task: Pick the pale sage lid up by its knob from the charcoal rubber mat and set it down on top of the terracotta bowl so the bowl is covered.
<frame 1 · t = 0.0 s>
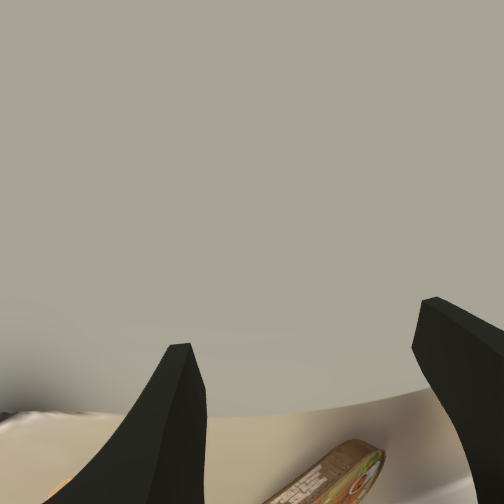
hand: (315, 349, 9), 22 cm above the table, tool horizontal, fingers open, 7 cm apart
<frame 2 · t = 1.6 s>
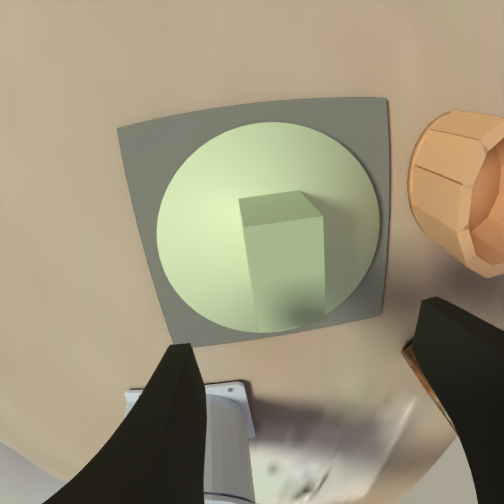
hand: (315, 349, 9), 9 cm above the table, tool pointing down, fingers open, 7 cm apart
lid: (271, 235, 17), resting on mat
bowl: (460, 178, 17), on the table
tin: (428, 363, 25), on the table
mat: (270, 232, 18), on the table
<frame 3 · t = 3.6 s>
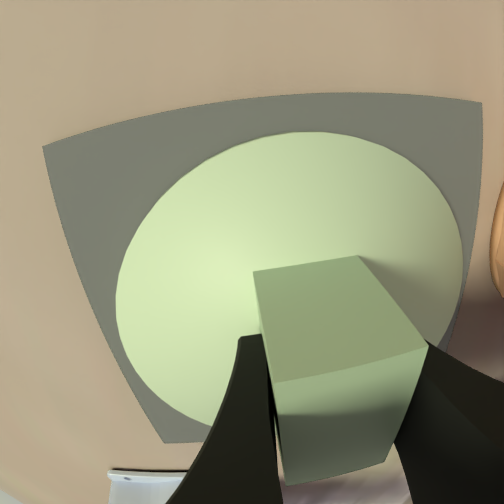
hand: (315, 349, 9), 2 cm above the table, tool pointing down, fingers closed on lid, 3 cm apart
lid: (303, 317, 11), resting on mat, touching gripper
mat: (301, 311, 11), on the table
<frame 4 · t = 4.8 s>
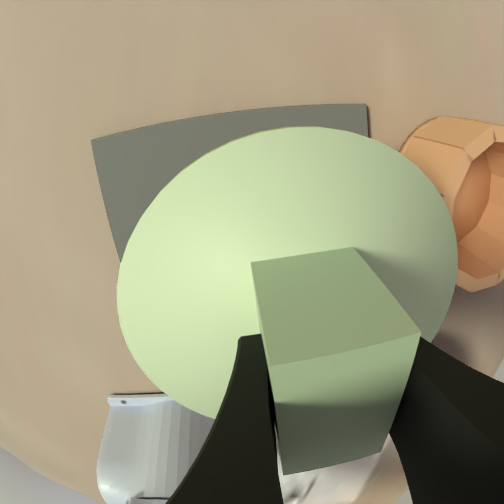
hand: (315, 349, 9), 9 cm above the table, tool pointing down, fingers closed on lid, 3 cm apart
lid: (300, 309, 11), point 7 cm above the table, touching gripper
bowl: (447, 187, 17), on the table
mat: (245, 243, 17), on the table
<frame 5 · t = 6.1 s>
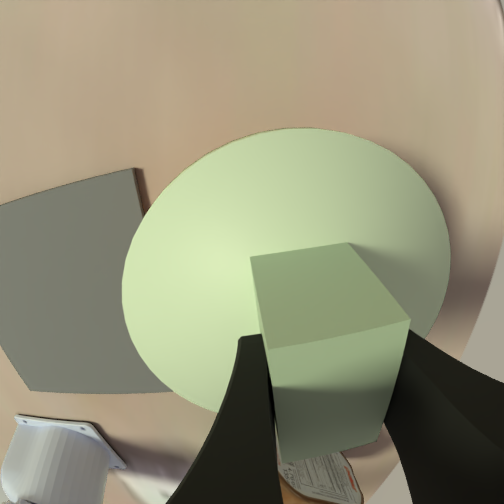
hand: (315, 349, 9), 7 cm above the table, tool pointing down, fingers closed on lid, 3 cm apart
lid: (298, 303, 11), point 5 cm above the table, touching bowl, gripper
tin: (297, 430, 23), on the table
mat: (59, 310, 16), on the table
when the fingers open (7 cm above the table, at t = 6.5 s): lid stays where it is, resting on bowl.
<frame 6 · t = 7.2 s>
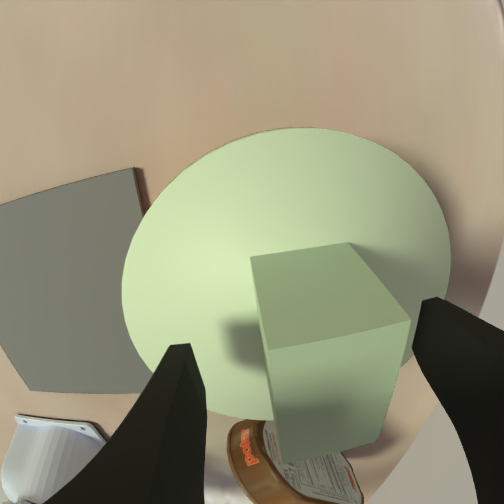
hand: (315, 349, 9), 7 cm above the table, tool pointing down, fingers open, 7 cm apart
lid: (298, 303, 11), point 5 cm above the table, touching bowl
tin: (297, 430, 23), on the table
mat: (59, 310, 16), on the table
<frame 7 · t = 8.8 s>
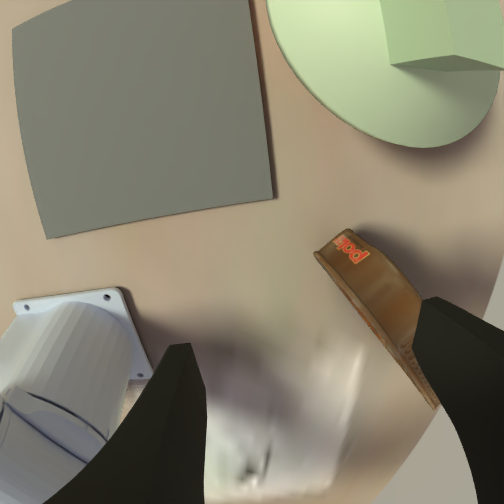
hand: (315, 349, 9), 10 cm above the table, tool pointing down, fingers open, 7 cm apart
lid: (401, 18, 10), point 5 cm above the table, touching bowl
tin: (371, 293, 22), on the table
mat: (126, 95, 14), on the table
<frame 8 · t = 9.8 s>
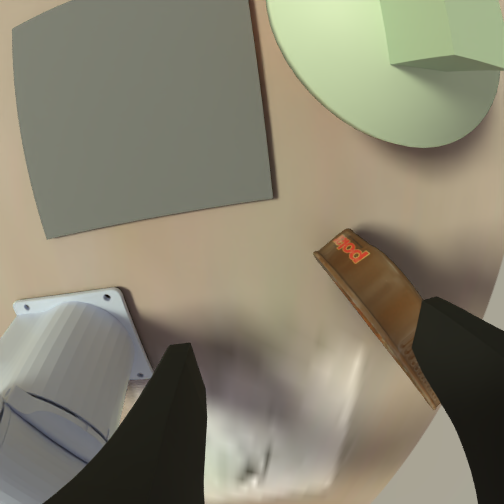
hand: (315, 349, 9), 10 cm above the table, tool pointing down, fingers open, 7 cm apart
lid: (401, 18, 10), point 5 cm above the table, touching bowl
tin: (371, 293, 22), on the table
mat: (126, 95, 14), on the table
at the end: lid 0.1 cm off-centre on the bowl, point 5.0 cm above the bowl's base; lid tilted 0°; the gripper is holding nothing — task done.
